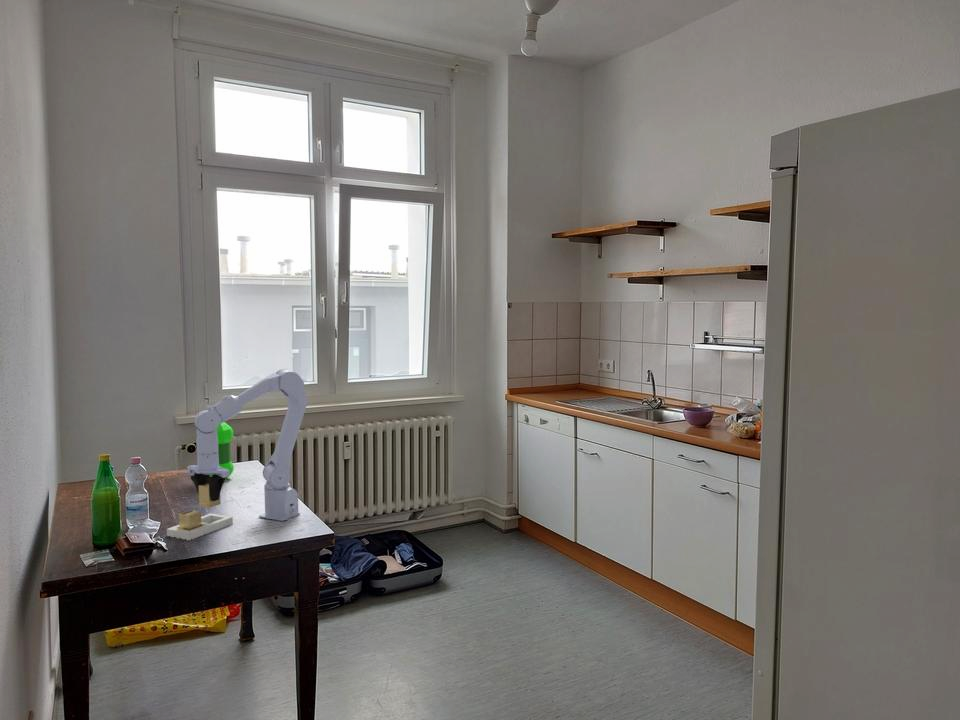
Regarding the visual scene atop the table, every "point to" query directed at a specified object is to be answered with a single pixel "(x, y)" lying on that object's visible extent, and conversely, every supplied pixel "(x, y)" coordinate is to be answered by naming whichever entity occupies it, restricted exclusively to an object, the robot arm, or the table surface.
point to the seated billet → (189, 520)
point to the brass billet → (206, 496)
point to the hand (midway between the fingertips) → (209, 499)
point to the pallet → (205, 528)
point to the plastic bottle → (224, 446)
